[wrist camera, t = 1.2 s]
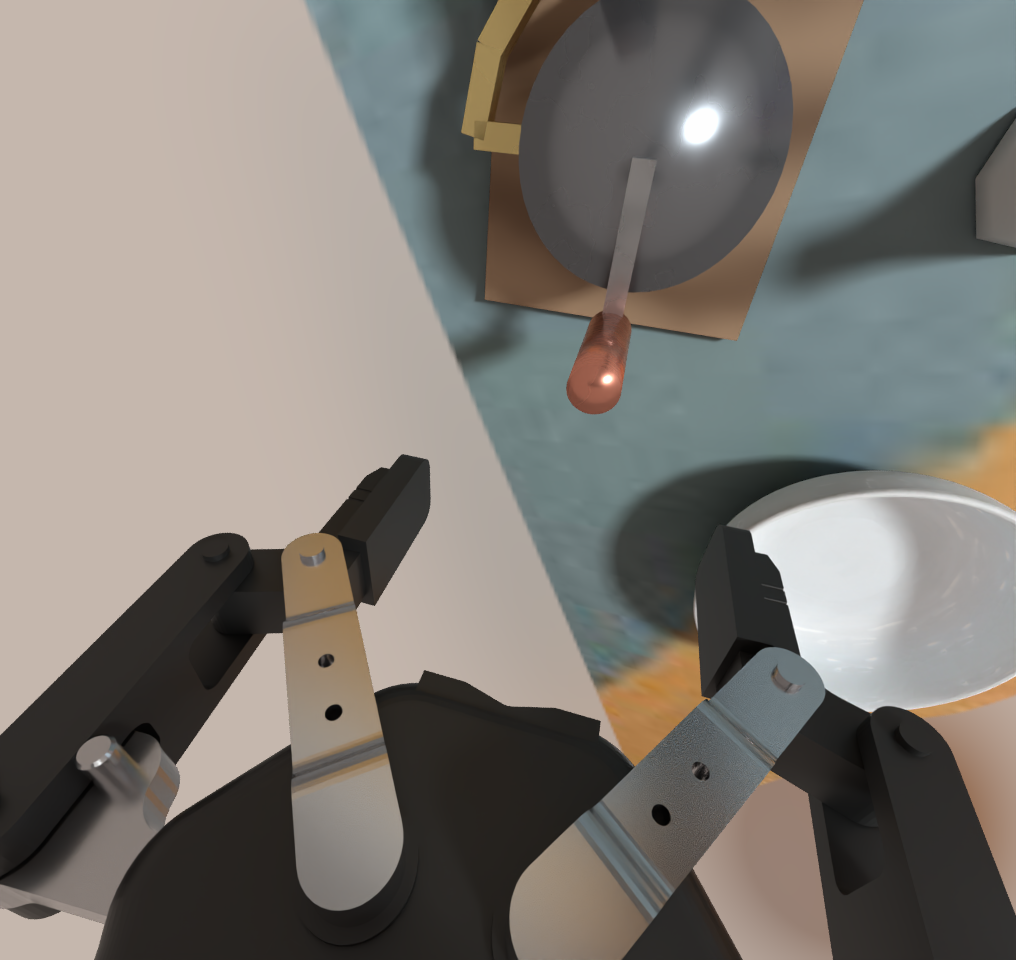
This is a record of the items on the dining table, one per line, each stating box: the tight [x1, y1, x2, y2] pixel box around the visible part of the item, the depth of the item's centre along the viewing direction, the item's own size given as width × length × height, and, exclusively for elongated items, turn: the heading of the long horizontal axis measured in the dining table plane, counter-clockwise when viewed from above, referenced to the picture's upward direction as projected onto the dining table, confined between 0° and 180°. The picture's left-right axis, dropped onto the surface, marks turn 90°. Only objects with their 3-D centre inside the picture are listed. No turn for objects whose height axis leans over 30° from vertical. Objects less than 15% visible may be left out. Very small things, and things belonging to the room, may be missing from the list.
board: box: [485, 0, 864, 341], centre depth 25 cm, size 22×16×1 cm
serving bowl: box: [693, 470, 1016, 712], centre depth 35 cm, size 21×21×7 cm
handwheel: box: [461, 0, 793, 414], centre depth 21 cm, size 18×15×13 cm
